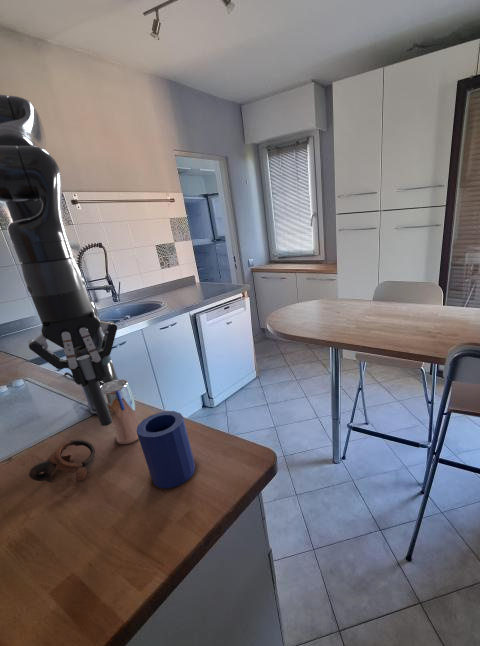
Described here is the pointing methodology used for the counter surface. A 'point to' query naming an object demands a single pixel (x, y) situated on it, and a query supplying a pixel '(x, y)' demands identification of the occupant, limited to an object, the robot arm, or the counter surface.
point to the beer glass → (121, 410)
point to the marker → (94, 389)
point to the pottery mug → (64, 463)
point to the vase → (166, 448)
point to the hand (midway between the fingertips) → (91, 381)
